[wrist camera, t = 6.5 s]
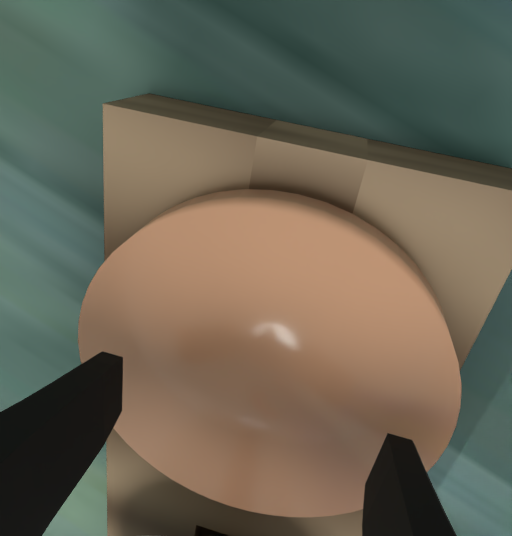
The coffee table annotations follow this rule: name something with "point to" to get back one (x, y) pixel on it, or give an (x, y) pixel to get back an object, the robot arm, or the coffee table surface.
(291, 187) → the block
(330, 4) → the coffee table surface
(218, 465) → the peach dome disc
